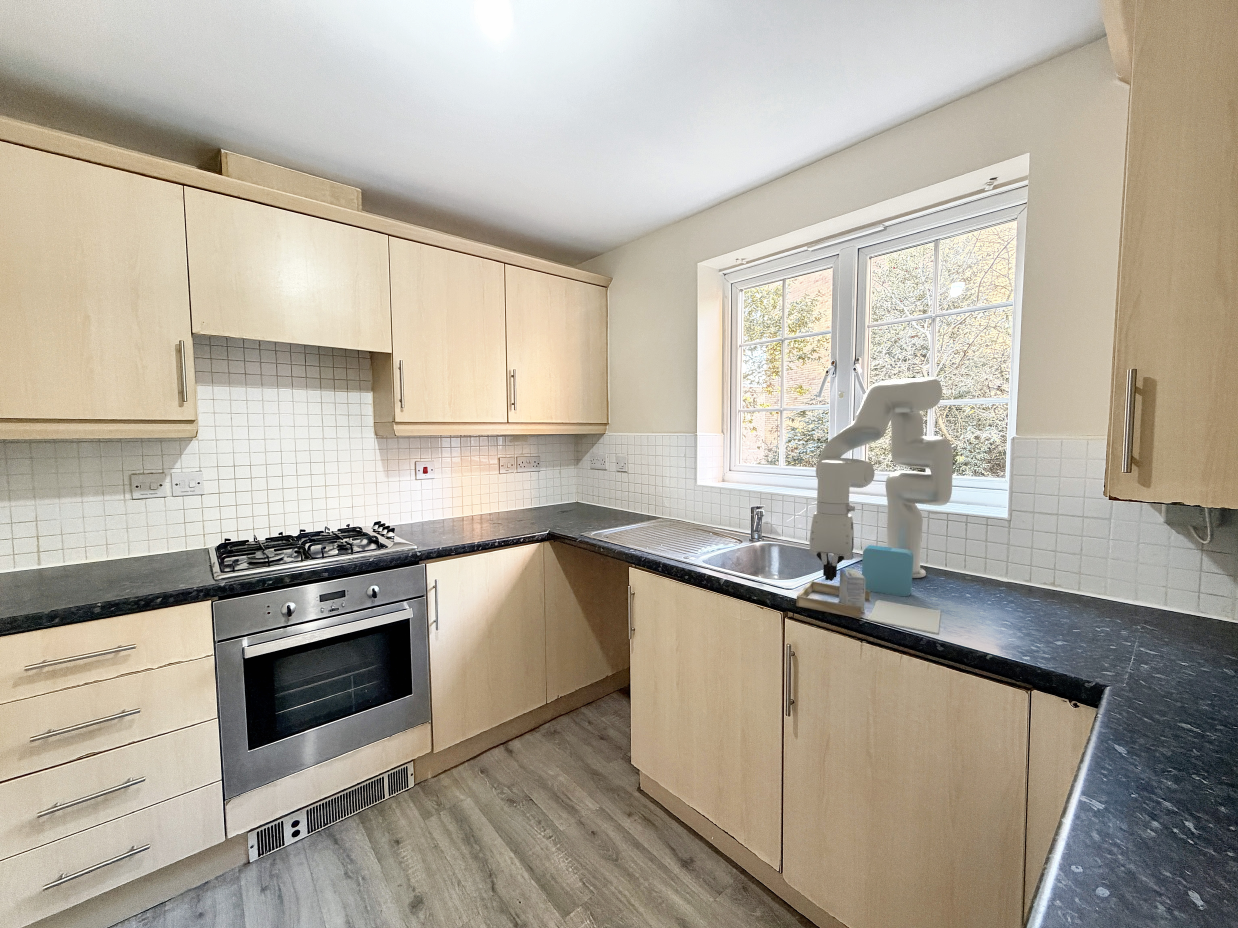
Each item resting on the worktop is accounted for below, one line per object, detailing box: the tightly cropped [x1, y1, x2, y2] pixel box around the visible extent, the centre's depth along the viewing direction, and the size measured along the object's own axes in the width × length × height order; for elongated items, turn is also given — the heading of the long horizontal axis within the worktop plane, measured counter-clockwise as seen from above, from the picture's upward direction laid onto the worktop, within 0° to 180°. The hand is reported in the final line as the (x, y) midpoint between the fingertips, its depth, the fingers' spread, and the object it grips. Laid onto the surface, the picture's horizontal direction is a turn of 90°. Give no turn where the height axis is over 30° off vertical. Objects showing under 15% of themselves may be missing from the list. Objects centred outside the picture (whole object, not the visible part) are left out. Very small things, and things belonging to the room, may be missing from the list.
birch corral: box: [795, 580, 871, 619], centre depth 133 cm, size 15×15×2 cm
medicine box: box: [838, 568, 866, 613], centre depth 130 cm, size 8×4×9 cm, turn 168°
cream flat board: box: [867, 599, 941, 635], centre depth 124 cm, size 16×14×1 cm
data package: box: [861, 544, 914, 597], centre depth 142 cm, size 12×4×12 cm, turn 57°
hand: (829, 579), depth 133 cm, fingers closed
